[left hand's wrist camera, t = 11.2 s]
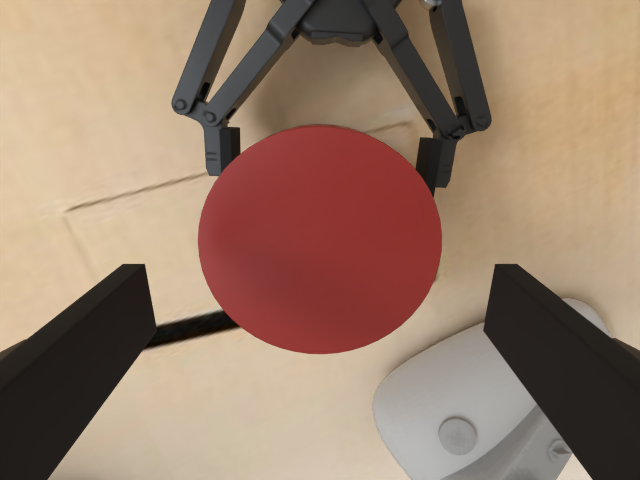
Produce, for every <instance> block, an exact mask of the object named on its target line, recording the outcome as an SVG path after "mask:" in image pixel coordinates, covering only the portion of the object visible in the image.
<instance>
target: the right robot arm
mask: <svg viewBox="0 0 640 480" xmlns="http://www.w3.org/2000/svg"><path fill="white" fill-rule="evenodd" d="M280 1H281V3H282V6H281V7H280V8H279V10H278V11H277V12H276V14H275V15H274V16H273V17H272V19H271V20H270V22H269V23H268V25H267V28H266V30H265V31H264V32H263V34H262V35H261V36H260V38H259V39H258V40H257V41H256V43H255V44H254V45H253V47H252V48H251V49H250V50H249V52H248V53H247V54H246V56H245V57H244V58H243V59H242V61H241V62H240V63H239V65H238V66H237V67H236V68H235V70H234V71H233V72H232V74H231V75H230V76H229V77H228V79H227V80H226V81H225V83H224V84H223V85H222V86H221V88H220V89H219V90H218V92H217V93H216V94H215V95H214V97H213V98H212V99H211V101H210V102H209V103H208V102H206V99H207V96H208V94H209V92H210V89H211V87H212V85H213V82H214V80H215V78H216V75H217V73H218V71H219V68H220V66H221V64H222V61H223V59H224V56H225V54H226V52H227V49H228V47H229V45H230V42H231V40H232V38H233V35H234V33H235V31H236V28H237V26H238V24H239V21H240V19H241V16H242V13H243V11H244V7H245V3H246V0H211V2H210V5H209V7H208V10H207V13H206V15H205V18H204V20H203V23H202V25H201V28H200V30H199V33H198V35H197V38H196V40H195V43H194V45H193V48H192V51H191V53H190V56H189V58H188V61H187V63H186V66H185V68H184V71H183V73H182V76H181V78H180V81H179V83H178V86H177V89H176V91H175V94H174V96H173V99H172V103H171V104H172V108H173V110H174V111H175V112H176V113H177V114H180V115H185V116H187V117H190V118H192V119H194V120H196V121H198V122H199V123H200V124H201V125H202V127H203V129H204V139H205V153H206V154H205V156H206V169H207V171H208V173H209V176H220V175H221V173H222V172H223V171H224V169H225V168H226V167H227V166H228V165H229V164H230V163H231V162H232V161H233V160H234V159H235V158H236V157H237V156H239V155H240V128H238V127H227V124H228V123H230V122H229V120H230V119H231V117H232V116H233V115H234V114H235V112H236V111H237V110H238V109H239V107H240V106H241V105H242V104H243V103H244V101H245V100H246V99H247V98H248V96H249V95H250V94H251V93H252V91H253V90H254V89H255V88H256V86H257V85H258V84H259V83H260V82H261V80H262V79H263V78H264V77H265V75H266V74H267V73H268V72H269V70H270V69H271V68H272V67H273V65H274V64H275V63H276V62H277V61H278V59H279V58H280V57H281V56H282V54H283V53H284V52H285V51H286V50H287V49H289V48H290V46H291V45H292V44H293V43H294V42H295V40H296V39H297V38H298V37H299V35H301V36H302V37H303V38H305V39H306V40H308V41H310V42H312V44H317V45H325V44H330V43H334V42H337V43H340V44H343V45H346V46H351V47H360V45H363V44H366V43H367V42H369V41H370V40H373V42H374V43H375V45H376V47H377V48H378V50H379V51H380V53H381V54H382V55H383V56H384V57H385V58H386V59H387V61H388V63H389V64H390V66H391V67H392V69H393V71H394V72H395V74H396V75H397V77H398V79H399V80H400V82H401V83H402V85H403V87H404V88H405V90H406V91H407V93H408V95H409V96H410V98H411V99H412V101H413V103H414V104H415V106H416V107H417V109H418V111H419V112H420V114H421V115H422V117H423V118H424V120H425V122H426V123H427V125H428V126H429V128H430V130H431V131H432V133H433V138H422V137H420V142H419V149H418V156H417V163H416V171H417V172H418V173H419V174H420V176H421V177H422V178H423V180H424V182H425V183H426V185H427V187H428V188H429V190H430V192H431V194H432V197H433V198H434V192H435V187H442V188H446V186H447V185H448V183H449V181H450V177H451V171H452V165H453V160H454V155H455V149H456V144H457V142H458V141H459V140H461V139H462V138H463V137H464V136H465V135H466V134H470V133H473V132H476V131H484V130H486V129H487V128H488V127H489V126H490V124H491V114H490V111H489V107H488V103H487V99H486V95H485V91H484V87H483V83H482V79H481V75H480V72H479V68H478V64H477V60H476V56H475V52H474V48H473V44H472V40H471V37H470V33H469V29H468V25H467V21H466V17H465V13H464V9H463V5H462V0H420V4H421V6H422V7H423V8H424V9H427V10H429V16H430V23H431V28H432V31H433V35H434V38H435V42H436V45H437V49H438V52H439V56H440V59H441V63H442V66H443V70H444V73H445V77H446V80H447V83H448V87H449V90H450V94H451V97H452V101H453V104H454V108H455V111H456V116H455V114H454V113H453V111H452V109H451V108H450V106H449V104H448V103H447V101H446V99H445V98H444V96H443V94H442V93H441V91H440V89H439V88H438V86H437V84H436V83H435V81H434V79H433V78H432V76H431V74H430V72H429V71H428V69H427V67H426V66H425V64H424V62H423V61H422V59H421V57H420V56H419V54H418V52H417V51H416V49H415V47H414V46H413V44H412V42H411V41H410V39H409V36H408V32H407V29H406V27H405V26H404V24H403V22H402V21H401V19H400V17H399V15H398V14H397V12H396V10H395V9H396V8H397V6H398V5H399V4H400V2H401V1H402V0H280Z"/></svg>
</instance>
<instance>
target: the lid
mask: <svg viewBox="0 0 640 480" xmlns="http://www.w3.org/2000/svg"><path fill="white" fill-rule="evenodd" d="M198 248H199V258H200V262H201V267H202V271H203V274H204V276H205V279H206V282H207V284H208V286H209V288H210V290H211V292H212V294H213V296H214V297H215V299H216V300H217V302H218V303H219V304H220V306H221V307H222V309H223V310H224V311H225V312H226V313H227V314H228V315H229V316H230V317H231V319H232V320H234V321H235V322H236V323H237V324H238V325H239V326H241V327H242V328H243V329H244V330H246V331H247V332H249V333H250V334H252V335H253V336H255V337H257V338H259V339H261V340H263V341H264V342H266V343H269V344H271V345H274V346H277V347H279V348H282V349H286V350H290V351H294V352H301V353H308V354H331V353H340V352H345V351H351V350H354V349H357V348H361V347H364V346H366V345H369V344H371V343H373V342H376V341H378V340H380V339H381V338H383V337H385V336H387V335H388V334H390V333H391V332H393V331H394V330H395V329H397V328H398V327H400V326H401V325H402V324H403V323H404V322H405V321H406V320H407V319H408V318H409V317H411V316H412V314H413V313H414V312H415V311H416V310H417V308H418V307H419V306H420V305H421V303H422V302H423V300H424V299H425V297H426V296H427V294H428V292H429V290H430V288H431V286H432V284H433V282H434V280H435V277H436V273H437V270H438V267H439V263H440V257H441V251H442V231H441V223H440V218H439V214H438V210H437V206H436V204H435V201H434V199H433V197H432V194H431V192H430V190H429V188H428V187H427V185H426V183H425V182H424V180H423V178H422V177H421V176H420V174H419V173H418V172H417V171H416V170H415V168H414V167H413V166H412V165H411V164H410V163H409V162H408V161H407V160H406V159H405V158H404V157H402V156H401V155H400V154H399V153H398V152H396V151H395V150H393V149H392V148H391V147H389V146H388V145H386V144H385V143H383V142H381V141H379V140H377V139H375V138H373V137H371V136H369V135H367V134H365V133H363V132H360V131H357V130H354V129H351V128H347V127H342V126H336V125H323V124H314V125H304V126H298V127H294V128H290V129H286V130H283V131H280V132H278V133H275V134H273V135H271V136H269V137H267V138H265V139H263V140H261V141H260V142H258V143H256V144H254V145H252V146H251V147H249V148H248V149H246V150H245V151H244V152H243V153H241V154H240V155H239V156H237V157H236V158H235V159H234V160H233V161H232V162H231V163H230V164H229V165H228V166H227V167H226V168H225V169H224V171H223V172H222V173H221V175H220V176H219V177H218V179H217V180H216V181H215V183H214V185H213V187H212V189H211V190H210V192H209V194H208V196H207V199H206V201H205V204H204V207H203V210H202V213H201V218H200V223H199V232H198Z"/></svg>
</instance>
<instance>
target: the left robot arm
mask: <svg viewBox="0 0 640 480" xmlns="http://www.w3.org/2000/svg"><path fill="white" fill-rule="evenodd" d="M156 331H157V328H156V323H155V317H154V312H153V306H152V301H151V295H150V290H149V285H148V279H147V274H146V268H145V264H122V265H121V266H120V267H119V268H117V269H116V270H115V271H113V272H112V273H111V274H110V275H108V276H107V277H106V278H105V279H103V280H102V281H101V282H99V283H98V284H97V285H96V286H94V287H93V288H92V289H91V290H89V291H88V292H87V293H85V294H84V295H83V296H82V297H80V298H79V299H78V300H77V301H75V302H74V303H73V304H71V305H70V306H69V307H68V308H66V309H65V310H64V311H62V312H61V313H60V314H59V315H57V316H56V317H55V318H54V319H52V320H51V321H50V322H48V323H47V324H46V325H45V326H43V327H42V328H41V329H40V330H38V331H37V332H36V333H34V334H33V335H32V336H31V337H29V338H28V339H25V340H23V341H21V342H19V343H17V344H15V345H13V346H11V347H9V348H7V349H6V350H4V351H2V352H0V480H47V479H48V478H49V477H50V475H51V474H52V473H53V471H54V470H55V469H56V467H57V466H58V464H59V463H60V462H61V460H62V459H63V458H64V456H65V455H66V454H67V452H68V451H69V449H70V448H71V447H72V445H73V444H74V443H75V441H76V440H77V439H78V437H79V436H80V435H81V433H82V432H83V430H84V429H85V428H86V426H87V425H88V424H89V422H90V421H91V420H92V418H93V417H94V416H95V414H96V413H97V411H98V410H99V409H100V407H101V406H102V405H103V403H104V402H105V401H106V399H107V398H108V397H109V395H110V394H111V392H112V391H113V390H114V388H115V387H116V386H117V384H118V383H119V382H120V380H121V379H122V378H123V376H124V375H125V373H126V372H127V371H128V369H129V368H130V367H131V365H132V364H133V363H134V361H135V360H136V359H137V357H138V356H139V354H140V353H141V352H142V350H143V349H144V348H145V346H146V345H147V344H148V342H149V341H150V340H151V338H152V337H153V335H154V334H155V333H156ZM483 331H484V333H485V334H486V335H487V337H488V338H489V340H490V341H491V342H492V344H493V345H494V346H495V348H496V349H497V350H498V352H499V353H500V354H501V356H502V357H503V359H504V360H505V361H506V363H507V364H508V365H509V367H510V368H511V369H512V371H513V372H514V373H515V375H516V376H517V378H518V379H519V380H520V382H521V383H522V384H523V386H524V387H525V388H526V390H527V391H528V392H529V394H530V395H531V397H532V398H533V399H534V401H535V402H536V403H537V405H538V406H539V407H540V409H541V410H542V411H543V413H544V414H545V416H546V417H547V418H548V420H549V421H550V422H551V424H552V425H553V426H554V428H555V429H556V430H557V432H558V433H559V435H560V436H561V437H562V439H563V440H564V441H565V443H566V444H567V445H568V447H569V448H570V449H571V451H572V452H573V454H574V455H575V456H576V458H577V459H578V460H579V462H580V463H581V464H582V466H583V467H584V469H585V470H586V471H587V473H588V474H589V475H590V477H591V478H592V479H593V480H640V351H639V350H638V349H636V348H634V347H632V346H630V345H628V344H626V343H624V342H622V341H620V340H618V339H616V338H611V337H609V336H608V335H607V334H606V333H604V332H603V331H602V330H600V329H599V328H598V327H597V326H595V325H594V324H593V323H592V322H590V321H589V320H588V319H586V318H585V317H584V316H583V315H581V314H580V313H579V312H577V311H576V310H575V309H574V308H572V307H571V306H570V305H569V304H567V303H566V302H565V301H563V300H562V299H561V298H560V297H558V296H557V295H556V294H555V293H553V292H552V291H551V290H549V289H548V288H547V287H546V286H544V285H543V284H542V283H541V282H539V281H538V280H537V279H535V278H534V277H533V276H532V275H530V274H529V273H528V272H527V271H525V270H524V269H523V268H521V267H520V266H519V265H518V264H495V268H494V274H493V279H492V284H491V290H490V295H489V301H488V306H487V312H486V317H485V323H484V328H483Z"/></svg>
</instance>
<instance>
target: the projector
mask: <svg viewBox="0 0 640 480" xmlns="http://www.w3.org/2000/svg"><path fill="white" fill-rule="evenodd" d="M561 299H562V300H563V301H565V302H566V303H567V304H569V305H570V306H571V307H572V308H574V309H575V310H576V311H577V312H579V313H580V314H581V315H583V316H584V317H585V318H586V319H588V320H589V321H590V322H592V323H593V324H594V325H595V326H597V327H598V328H599V329H600V330H602V331H603V332H604V333H606V334H607V335H608V336H609V337H611V338H612V336H611V334H610V332H609V331H608V329H607V327H606V326H605V324H604V322H603V321H602V319H601V318H600V316H599V315H598V314H597V313H596V312H595V311H594V310H593V309H592V308H591V307H590V306H589V305H587V304H585V303H584V302H582V301H579V300H576V299H572V298H561ZM484 323H485V322H482V323H480V324H478V325H475V326H473V327H470V328H468V329H466V330H464V331H462V332H459V333H457V334H455V335H453V336H451V337H449V338H447V339H445V340H443V341H441V342H439V343H437V344H435V345H433V346H432V347H430V348H428V349H426V350H424V351H422V352H421V353H419V354H417V355H416V356H414V357H412V358H411V359H409V360H407V361H406V362H404V363H403V364H401V365H400V366H399V367H397V368H396V369H394V370H393V371H392V372H391V373H390V374H388V375H387V376H386V377H385V378H384V379H383V381H382V382H381V383H380V384H379V386H378V388H377V390H376V392H375V395H374V398H373V414H374V419H375V423H376V426H377V429H378V432H379V434H380V436H381V438H382V440H383V442H384V444H385V445H386V447H387V449H388V450H389V451H390V453H391V454H392V456H393V457H394V459H395V460H396V461H397V463H398V464H399V465H400V466H401V468H402V469H403V470H404V471H405V473H406V474H407V475H408V476H409V477H410V479H411V480H556V479H557V477H558V476H559V474H560V473H561V471H562V470H563V468H564V466H565V465H566V463H567V461H568V460H569V458H570V457H571V455H572V453H573V452H572V451H571V449H570V448H569V447H568V445H567V444H566V443H565V441H564V440H563V439H562V437H561V436H560V435H559V433H558V432H557V430H556V429H555V428H554V426H553V425H552V424H551V422H550V421H549V420H548V418H547V417H546V416H545V414H544V413H543V411H542V410H541V409H540V407H539V406H538V405H537V403H536V402H535V401H534V399H533V398H532V397H531V395H530V394H529V392H528V391H527V390H526V388H525V387H524V386H523V384H522V383H521V382H520V380H519V379H518V378H517V376H516V375H515V373H514V372H513V371H512V369H511V368H510V367H509V365H508V364H507V363H506V361H505V360H504V359H503V357H502V356H501V354H500V353H499V352H498V350H497V349H496V348H495V346H494V345H493V344H492V342H491V341H490V340H489V338H488V337H487V335H486V334H485V333H484V331H483V328H484Z"/></svg>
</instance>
